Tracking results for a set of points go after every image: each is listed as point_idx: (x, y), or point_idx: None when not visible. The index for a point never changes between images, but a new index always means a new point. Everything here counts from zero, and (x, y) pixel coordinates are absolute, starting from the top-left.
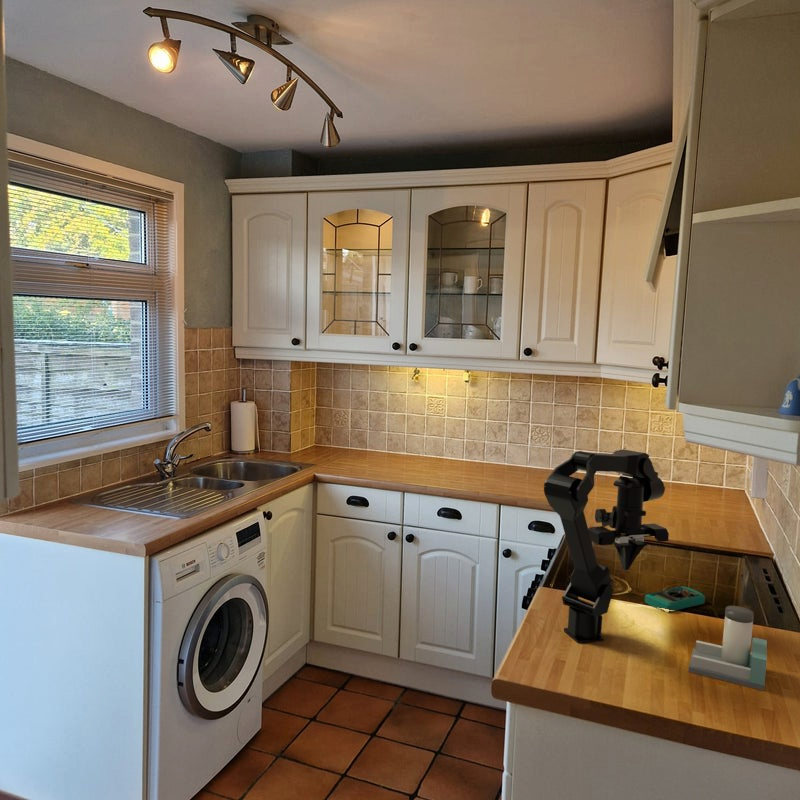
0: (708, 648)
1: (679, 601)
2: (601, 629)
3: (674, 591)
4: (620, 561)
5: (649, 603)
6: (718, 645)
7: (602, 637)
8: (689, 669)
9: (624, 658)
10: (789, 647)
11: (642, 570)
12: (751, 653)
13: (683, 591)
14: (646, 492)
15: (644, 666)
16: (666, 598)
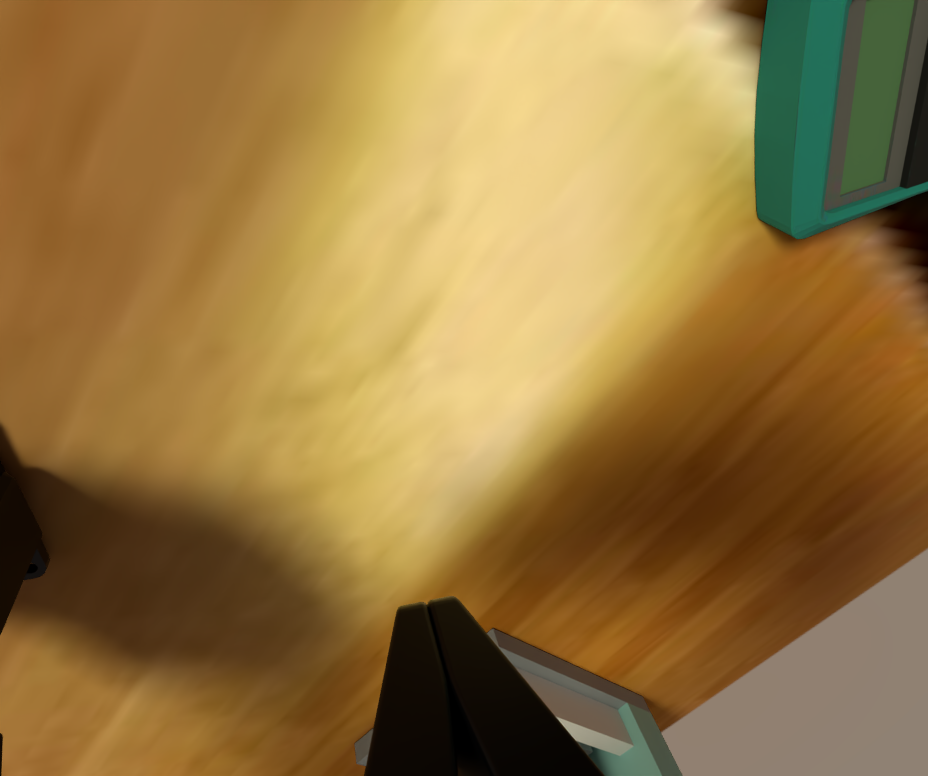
0: None
1: (925, 191)
2: (31, 558)
3: None
4: (374, 725)
5: (769, 45)
6: (563, 721)
7: (38, 564)
8: (358, 753)
9: (109, 696)
10: (878, 575)
11: None
12: (628, 749)
13: None
14: None
15: (183, 735)
16: (915, 91)
